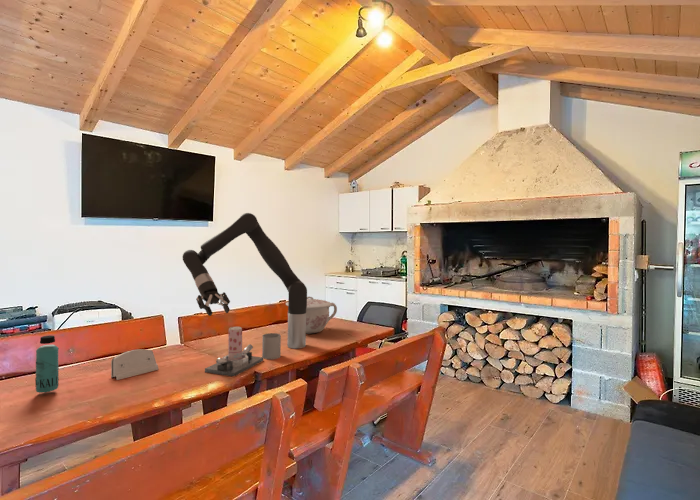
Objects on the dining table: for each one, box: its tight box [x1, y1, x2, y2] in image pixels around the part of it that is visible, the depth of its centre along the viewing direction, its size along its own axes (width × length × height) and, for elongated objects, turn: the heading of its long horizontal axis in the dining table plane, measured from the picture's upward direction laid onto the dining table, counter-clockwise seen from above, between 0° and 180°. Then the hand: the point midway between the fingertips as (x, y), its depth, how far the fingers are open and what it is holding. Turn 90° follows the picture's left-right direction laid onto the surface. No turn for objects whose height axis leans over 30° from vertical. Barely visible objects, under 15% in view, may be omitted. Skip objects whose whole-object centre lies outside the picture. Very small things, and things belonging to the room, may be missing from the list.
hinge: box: [110, 348, 159, 381], centre depth 159 cm, size 17×5×10 cm, turn 143°
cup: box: [261, 332, 282, 360], centre depth 184 cm, size 8×8×10 cm
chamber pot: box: [285, 296, 338, 335], centre depth 235 cm, size 28×28×21 cm
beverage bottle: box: [34, 335, 60, 394], centre depth 136 cm, size 6×7×20 cm
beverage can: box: [227, 326, 243, 360], centre depth 169 cm, size 6×6×15 cm
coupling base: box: [204, 343, 264, 377], centre depth 169 cm, size 24×14×7 cm, turn 161°
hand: (219, 313), depth 176 cm, fingers open, 8 cm apart
